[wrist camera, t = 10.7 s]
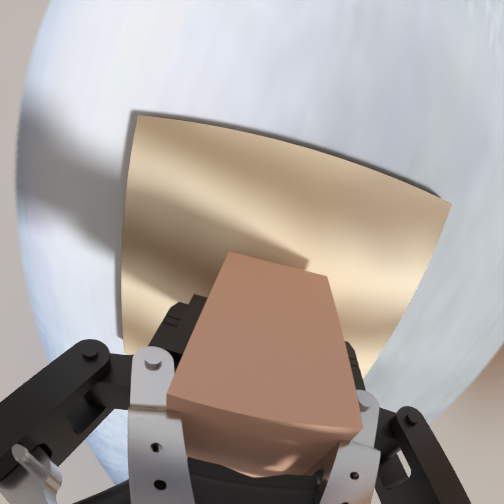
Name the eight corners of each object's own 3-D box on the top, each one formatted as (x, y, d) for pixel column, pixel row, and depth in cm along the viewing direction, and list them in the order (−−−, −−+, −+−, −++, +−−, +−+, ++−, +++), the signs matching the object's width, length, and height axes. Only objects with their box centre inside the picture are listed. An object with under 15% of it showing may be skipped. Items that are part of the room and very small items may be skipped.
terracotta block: (228, 251, 13) (166, 393, 5) (327, 276, 13) (363, 428, 5) (212, 329, 14) (166, 463, 7) (296, 348, 14) (297, 487, 7)
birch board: (146, 116, 12) (137, 114, 11) (442, 199, 12) (451, 203, 11) (129, 343, 18) (124, 352, 17) (343, 393, 18) (344, 403, 17)
